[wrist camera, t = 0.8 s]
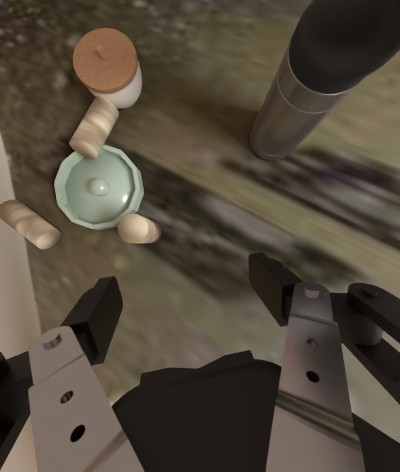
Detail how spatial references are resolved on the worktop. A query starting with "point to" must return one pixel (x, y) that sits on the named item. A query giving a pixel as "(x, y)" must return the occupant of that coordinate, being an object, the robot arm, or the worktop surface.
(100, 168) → the ring dish
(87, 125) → the beige banded cylinder
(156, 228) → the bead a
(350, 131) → the worktop surface
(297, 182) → the worktop surface
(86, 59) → the lidded jar
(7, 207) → the wooden dowel
